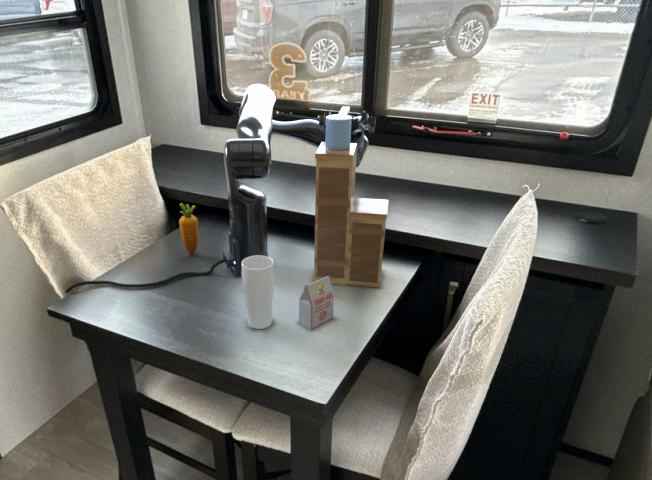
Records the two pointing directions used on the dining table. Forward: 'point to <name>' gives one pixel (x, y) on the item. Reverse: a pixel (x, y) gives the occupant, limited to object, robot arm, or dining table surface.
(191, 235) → the carrot
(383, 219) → the step stand
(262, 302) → the drinking glass
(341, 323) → the dining table surface
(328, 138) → the pale blue saucepan
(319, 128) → the robot arm
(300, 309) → the milk carton
